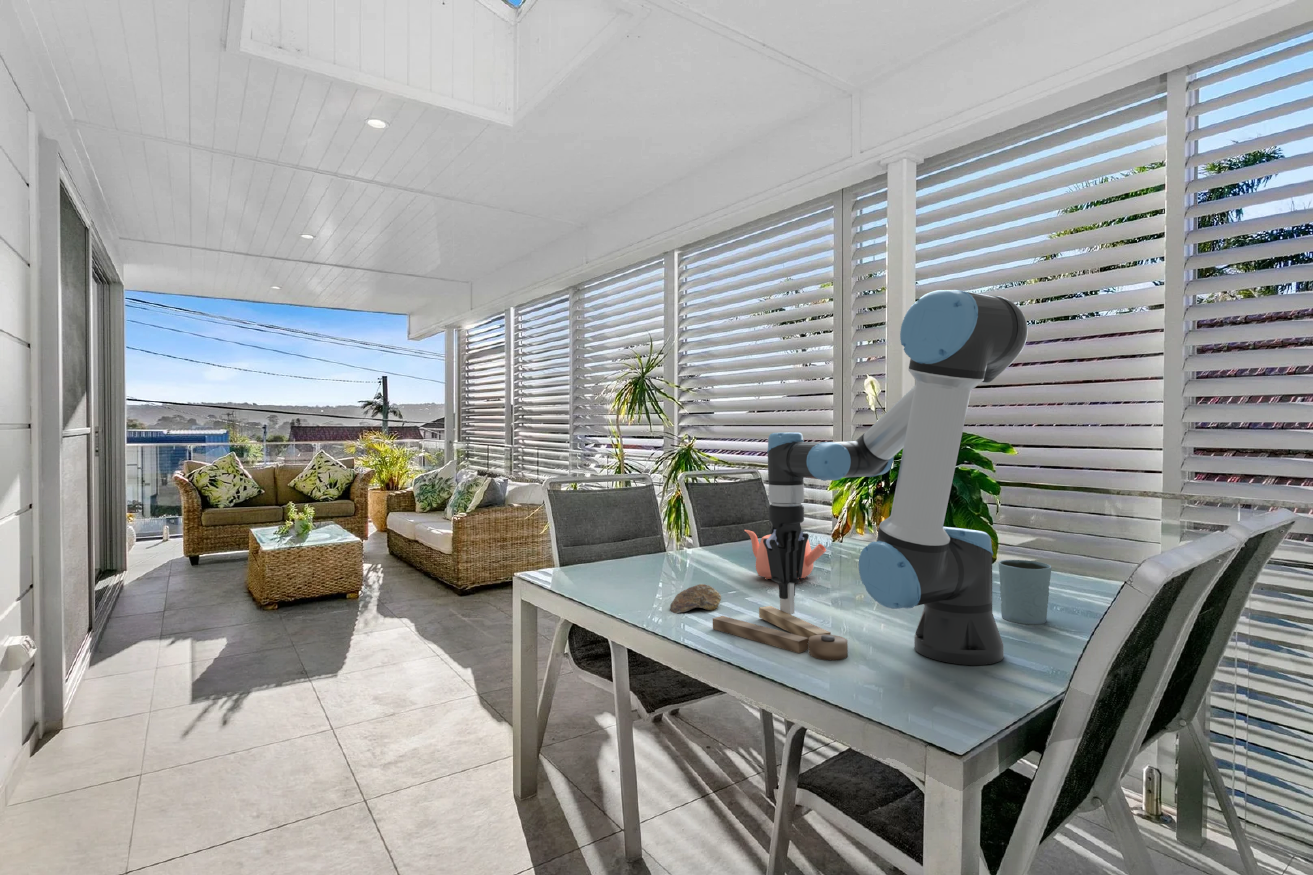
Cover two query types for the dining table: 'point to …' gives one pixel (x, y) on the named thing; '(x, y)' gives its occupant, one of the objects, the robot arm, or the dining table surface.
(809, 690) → the dining table surface
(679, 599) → the brown rock
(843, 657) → the bar
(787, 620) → the tongs swing jaw
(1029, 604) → the pale blue plant pot
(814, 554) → the teapot
